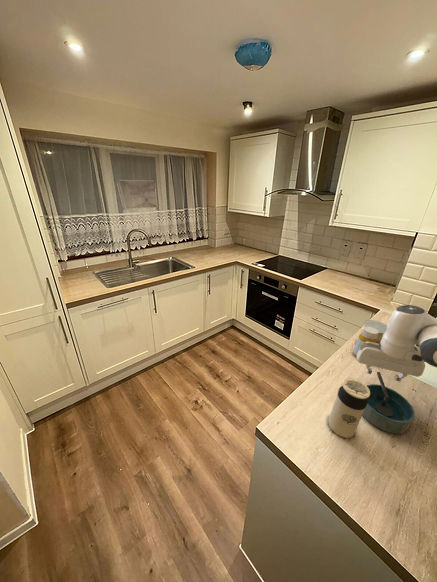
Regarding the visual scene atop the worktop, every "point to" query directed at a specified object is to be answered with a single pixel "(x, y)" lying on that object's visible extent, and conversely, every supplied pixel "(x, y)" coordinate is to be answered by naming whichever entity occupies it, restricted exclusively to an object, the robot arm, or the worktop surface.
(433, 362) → the robot arm
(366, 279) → the worktop surface
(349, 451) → the worktop surface
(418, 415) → the worktop surface
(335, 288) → the worktop surface
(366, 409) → the bowl
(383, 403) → the ladle
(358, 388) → the travel mug
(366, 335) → the bottle
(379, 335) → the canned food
